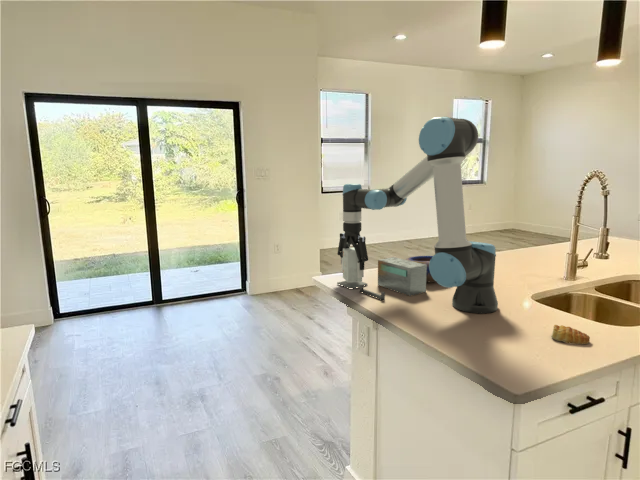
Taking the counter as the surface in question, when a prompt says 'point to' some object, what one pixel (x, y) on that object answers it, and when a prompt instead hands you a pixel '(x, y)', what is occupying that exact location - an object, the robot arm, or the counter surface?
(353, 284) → the coaster
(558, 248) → the counter surface
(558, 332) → the pastry
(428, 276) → the bowl
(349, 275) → the small box
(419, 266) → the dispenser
